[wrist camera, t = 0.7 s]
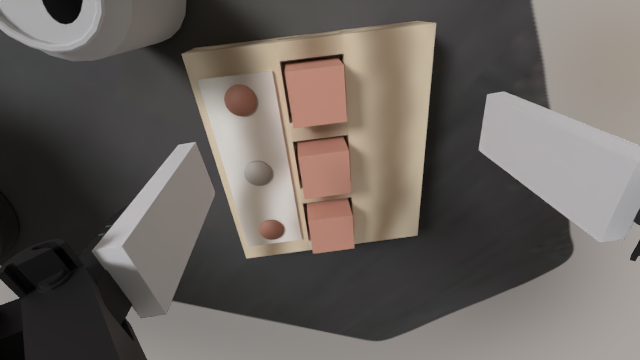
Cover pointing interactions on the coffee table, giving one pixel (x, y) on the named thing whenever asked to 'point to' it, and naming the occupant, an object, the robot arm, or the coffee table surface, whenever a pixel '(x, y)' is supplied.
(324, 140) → the button
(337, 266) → the coffee table surface
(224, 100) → the board
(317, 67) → the button
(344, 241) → the button
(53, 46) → the can
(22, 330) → the robot arm
